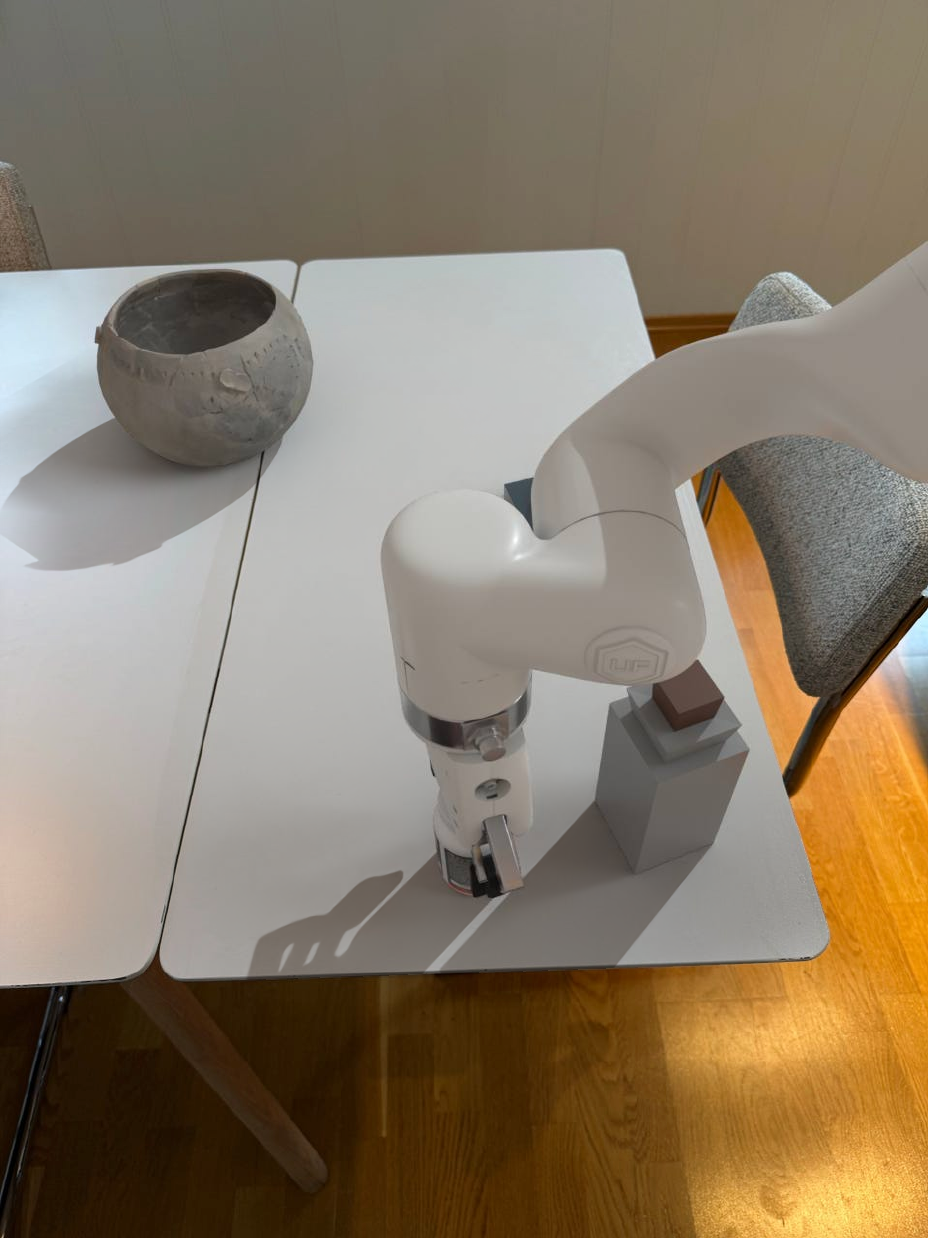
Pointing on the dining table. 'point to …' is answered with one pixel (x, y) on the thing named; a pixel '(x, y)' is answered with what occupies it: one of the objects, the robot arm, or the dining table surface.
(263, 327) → the bowl
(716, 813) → the perfume bottle
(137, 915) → the dining table surface
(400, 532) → the robot arm
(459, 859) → the pill bottle
